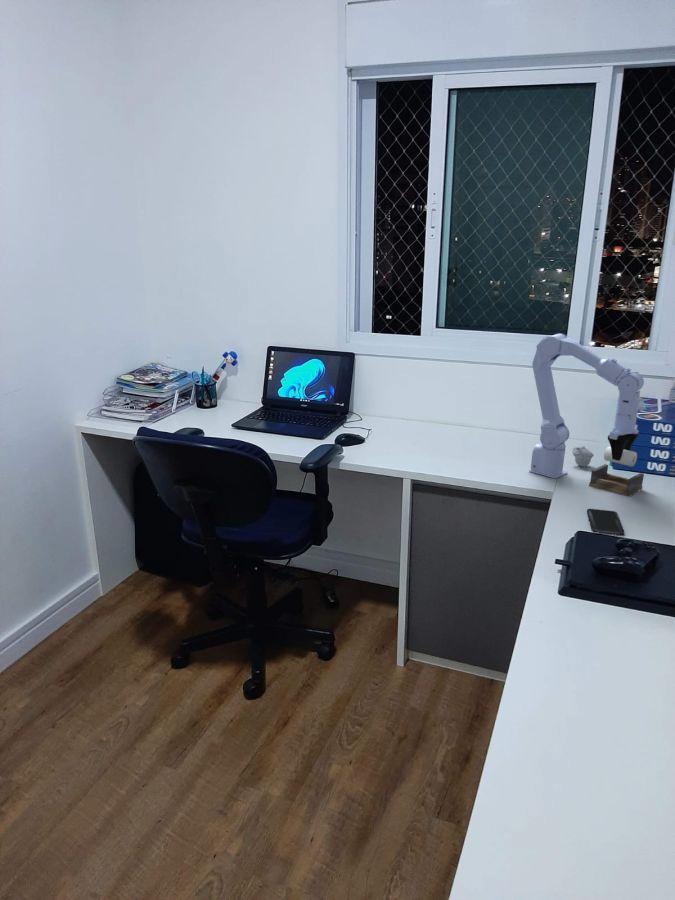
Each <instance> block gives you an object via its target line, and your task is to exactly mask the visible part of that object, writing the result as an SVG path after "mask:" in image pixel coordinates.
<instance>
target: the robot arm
mask: <svg viewBox="0 0 675 900" xmlns="http://www.w3.org/2000/svg"><path fill="white" fill-rule="evenodd" d="M535 347H536V350H535V354H534V358H533V359H532V363H531V364H532V371H533V375H534V380H535V385H536V390H537V396H538V400H539V405H540V410H541V417H542V421H541V424H540V429H541V430H540V432H541V433H540V435H539V441H540V443H537V444H535V445H534V447H533V449H532V453H531V461H530V469H529V472H530V473H533V474H538V475H540V476H543V477H547V478H548V477H549V478H552V479H558V478H560V477H562V476H565V475H567V474H568V473H569V472H568V471H565V470H564V463H565V462H564V461H565V453H566V441H568V439H570V430H569V428H568V427H567V425H566V424H565V420H564V418H563V417H562V416H561V412H560V409H559V408H560V407H559V403H558V398H557V394H556V392H557V391H556V387H555V382H554V377H553V373H552V372H553V371H552V365H553V364H554V363H555V361H556V360H557V358H559V357H560V356H561V357H562V356H563V357H565V356H566V357H569V356H571V357H572V356H573V358H575V359H577V360H579V361H581V362H583V363H585V364H586V365H589V366H590V367H592V368H594V369H595V372H596V375H597V376H599V377H600V378H602V379H603V380H605V381H607V382H608V383H610V384H612V385H614V386H615V387H617V389H618V391H619V392H618V393H619V394H618V399H617V405H616V411H615V416H614V417H615V418H614V423H613V427H612V429H611V431H610V432H609V435H607V440H608V442H609V446H611V451H612V459H614V460H618V461H619V460H620V459H621V457H622V453H623V450H629V451H631V449H632V447H633V445H634V443H635V441H636V439H637V438H639V431H640V430H638V427H639V426H638V424H637V417H638V410H639V404H640V396H641V389H642V388H644V384H645V381H644V377H643V375H641V374H640V372H638V371H632V369H631V368H628V367H627V368H626V367H624V366H623V365H621V364H620V363H618V362H617V361H618V360H617V359H615V358H612V359H611V358H610V357H609V358H604V359H602V358H601V357H600V356H598V355H597V354H595V352H592V351H591V350H589V349H588V348H586V346H583V345H582V344H580V342H578V341H576V340H575V339H573V338H572V337H569V336H567V335H566V334H564V333H555V334H553V335H548V336H545V337H543V338H542V339H541V340H540V341H539V343H537V344H536V346H535Z"/></svg>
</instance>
